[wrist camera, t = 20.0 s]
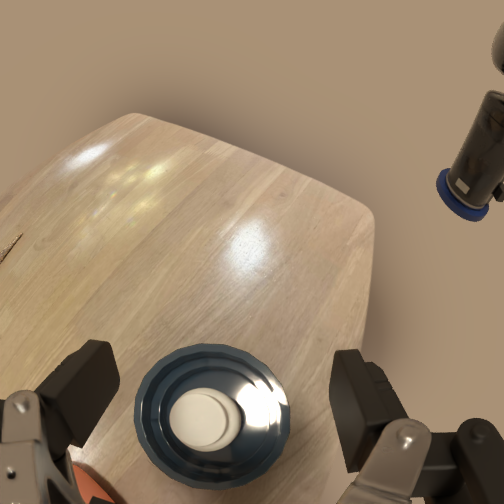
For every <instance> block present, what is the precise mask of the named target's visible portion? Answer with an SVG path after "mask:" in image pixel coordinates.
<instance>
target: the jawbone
mask: <svg viewBox="0 0 504 504" xmlns="http://www.w3.org/2000/svg"><path fill="white" fill-rule="evenodd" d="M21 235H22V233H20V234H19V235H18V236H17V238H15V239H14V240H13V241H12V242H11V243H10V244H9V245H8V246H7V247H6V248H5V249H4V250H3V251H2V252H1V253H0V262H1V260H2V259H3V258H4V256H5V255H6V254H7V253H8V251H9V250H10V249H11V248H12V246H13V245H14V244H15V243H16V241H17V240H18V239H19V237H20V236H21Z"/></svg>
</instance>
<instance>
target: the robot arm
mask: <svg viewBox="0 0 504 504" xmlns="http://www.w3.org/2000/svg"><path fill="white" fill-rule="evenodd" d="M492 60H493V64H494V65H495V67H496V68H497V69H498V70H499V71H500V72H501V73H502V74H503V75H504V22H503V23H502V25H501V26H500V28H499V30H498V31H497V33H496V36H495V38H494V41H493V45H492ZM503 182H504V93H502V92H499V91H494V90H489V91H488V92H487V93H486V94H485V96H484V99H483V102H482V104H481V106H480V109H479V111H478V113H477V116H476V118H475V120H474V122H473V125H472V127H471V129H470V131H469V133H468V135H467V137H466V139H465V141H464V144H463V146H462V148H461V150H460V152H459V154H458V156H457V157H456V159H455V161H454V163H453V165H452V167H451V169H450V171H449V172H448V173H447V175H446V177H445V184H446V187H447V189H448V190H449V192H450V194H451V195H452V196H453V197H454V198H455V199H456V200H457V201H458V202H459V203H460V204H461V205H463V206H464V207H466V208H468V209H471V210H475V211H478V210H481V209H482V208H483V207H484V206H487V205H488V203H489V202H490V200H491V199H492V198H493V196H494V198H495V199H496V201H498V202H503V200H504V184H503ZM119 385H120V376H119V372H118V369H117V365H116V362H115V358H114V354H113V351H112V347H111V345H110V343H109V342H106V341H99V340H92V339H90V340H88V341H87V342H86V343H85V344H84V345H83V346H82V347H81V348H80V349H79V350H78V351H76V352H74V353H72V354H70V355H69V356H67V357H66V358H65V359H64V360H63V361H62V362H61V365H58V366H57V367H56V369H55V371H53V372H52V373H51V374H50V375H49V376H48V377H47V378H46V379H45V380H44V381H43V382H42V383H41V384H40V385H39V386H38V387H37V388H36V390H35V391H34V392H33V391H30V390H20V391H17V392H15V393H13V394H11V395H10V396H9V397H8V398H7V399H6V400H1V399H0V504H86V503H85V501H84V500H83V498H82V496H81V494H80V491H79V488H78V485H77V481H76V477H75V474H74V470H73V465H72V461H71V457H70V453H69V451H68V449H67V448H68V446H69V445H70V444H71V445H74V446H76V447H79V448H83V446H84V444H85V443H86V441H87V439H88V438H89V436H90V434H91V433H92V431H93V430H94V428H95V426H96V425H97V423H98V421H99V420H100V418H101V416H102V415H103V413H104V412H105V410H106V408H107V407H108V405H109V404H110V402H111V400H112V399H113V397H114V396H115V394H116V393H117V391H118V389H119ZM329 400H330V405H331V408H332V412H333V416H334V420H335V424H336V427H337V431H338V435H339V439H340V443H341V447H342V451H343V455H344V459H345V464H346V468H347V472H348V473H353V472H359V474H358V475H357V477H356V479H355V480H354V482H352V483H351V484H350V485H349V486H348V488H347V489H346V491H345V492H344V493H343V495H342V496H341V498H340V499H339V500H338V502H337V503H336V504H412V500H410V497H423V498H424V501H425V504H504V440H503V438H502V437H501V436H500V434H499V432H498V431H497V429H496V428H495V426H494V425H493V424H492V423H490V422H489V421H487V420H484V419H481V418H472V419H468V420H466V421H465V422H463V423H462V424H461V425H460V427H459V428H458V431H457V432H448V433H433V432H430V430H429V429H428V428H427V426H425V425H424V424H423V423H421V422H419V421H417V420H413V419H409V417H408V416H407V413H406V412H405V410H404V408H403V406H402V404H401V402H400V401H399V398H398V397H397V395H396V393H395V391H394V390H393V389H392V386H391V384H390V382H389V381H388V379H387V377H386V375H385V374H384V371H383V370H382V369H381V368H380V367H378V366H377V365H376V364H374V363H373V362H364V360H363V358H362V356H361V354H360V352H359V350H358V349H351V350H337V351H335V354H334V359H333V366H332V372H331V378H330V384H329ZM89 504H116V503H113V502H109V501H106V500H104V499H101V498H98V497H95V496H92V498H91V500H90V502H89Z"/></svg>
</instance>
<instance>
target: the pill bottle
mask: <svg viewBox="0 0 504 504" xmlns="http://www.w3.org/2000/svg"><path fill="white" fill-rule="evenodd" d="M170 426H171V428H172V431H173V432H174V434H175V435H176V436H177V438H179V440H180V441H181V442H182V443H184V444H185V445H187V446H188V447H190V448H192V449H195V450H198V451H204V452H209V451H216V450H219V449H222V448H224V447H226V446H227V445H228V444H230V443H231V442H232V441H233V440H234V439H235V438H236V437H237V436H238V434H239V433H240V431H241V429H242V426H243V413H242V410H241V408H240V407H239V405H238V404H237V403H236V402H235V401H234V400H233V399H232V398H230V397H228V396H227V395H226V394H224V393H222V392H220V391H217V390H215V389H211V388H197V389H193V390H190V391H188V392H186V393H185V394H183V395H182V396H181V397H180V398H179V399H178V400H177V401H176V402H175V404H174V405H173V407H172V409H171V412H170Z"/></svg>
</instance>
